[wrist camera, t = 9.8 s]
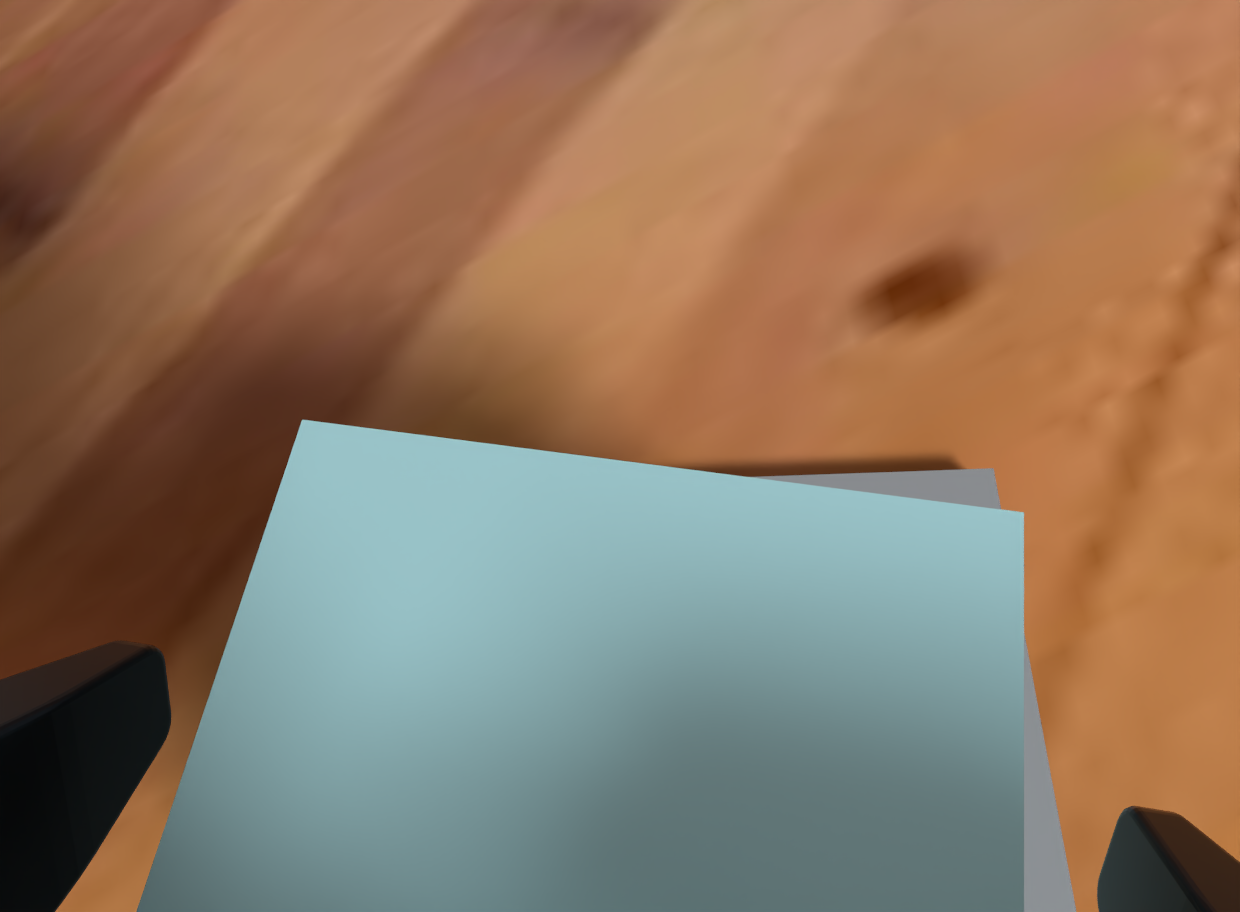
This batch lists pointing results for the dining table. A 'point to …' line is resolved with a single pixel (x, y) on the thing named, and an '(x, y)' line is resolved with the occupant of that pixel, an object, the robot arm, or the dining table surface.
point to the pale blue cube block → (605, 694)
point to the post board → (1043, 842)
